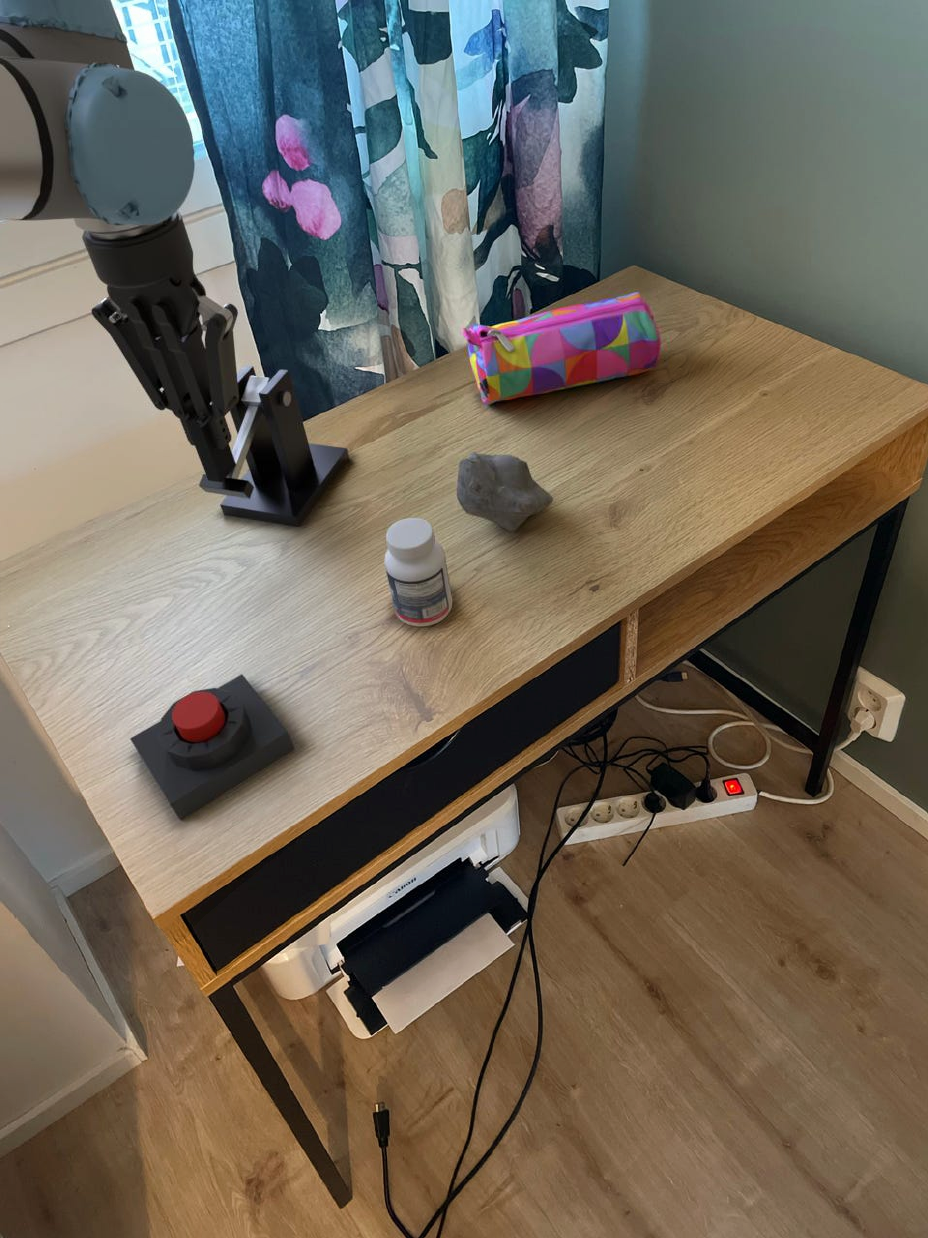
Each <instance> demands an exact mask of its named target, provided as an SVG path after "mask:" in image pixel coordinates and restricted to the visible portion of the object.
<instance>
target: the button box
mask: <svg viewBox="0 0 928 1238" xmlns="http://www.w3.org/2000/svg"><path fill="white" fill-rule="evenodd" d="M196 692H208V693H211V694H213V695H214V696H216V698H217V699H218V701H219V703H220V705H221V707H222V709H223V711H224V714H225V723H224V726H223V728H222V729H221V731H220V732H219V733H218V734H217V735H215V736H214V737H212V738H211V739H209V740H206V741H203V742H190V741H187V740H185V739H184V738H182V736H181V735H180V733H179V731H178V729H177V728H176V726H175V724H174V722H173V720H172V712H173V709H174V707H175V706H176V704H177V703H178V702H179V701H180V700H181V699H183V698H184V697H186V696H187V695H190V694H192V693H196ZM129 739H130V741H131V742H132V745H133V746H134V748H135V749H136V751H137V753H138V754H139V756H140V758H141V759H142V761H143V763H144V764H145V766H146V768H147V769H148V771H149V772H150V774H151V776H152V778H153V779H154V781H155V782H156V784H157V786H158V787H159V789H160V790H161V792H162V794H163V796H164V797H165V798H166V800H167V801H168V803H169V805H170V807H171V808H172V810H173V812H174V813H175V815H176V817H177V818H178V820H180V821H182V820H183V819H185V818H186V817H188V816H189V815H191V814H193V813H194V812H196V811H198V810H200V809H201V808H203V807H204V806H205V805H207V804H208V803H210V802H212V801H214V800H216V799H217V798H218V797H220V796H222V795H223V794H225V793H226V792H228V791H229V790H231V789H233V788H235V787H237V786H238V785H239V784H241V783H243V782H244V781H245V780H247V779H248V778H250V777H252V776H253V775H256V774H257V773H258V772H260V771H262V770H264V769H265V768H267V767H268V766H270V765H271V764H273V763H274V762H276V761H278V760H279V759H281V758H283V757H284V756H286V755H287V754H289V753H291V752H292V751H293V750H295V749H296V748H295V745H294V743H293V741H292V738H291V735H290V733H289V732H288V730H287V729H286V727H285V726H284V724H282V723H281V721H280V720H279V718H278V717H277V716H276V715H275V713H273V711H272V710H271V709H270V707H269V706H268V705H267V704H266V702H265V701H264V699H263V698H262V697H261V695H259V693H258V692H257V691H256V689H255V688H254V687H253V685H252V684H251V683H250V682H249V680H248V679H247V678H246V676H244V674H242V673H241V674H239V675H238V676H236V677H235V678H233V679H231V680H229V681H227V682H226V683H224V684H222V685H221V686H218V687H211V688H205V689H198V690H194V691H191V692H190V693H188V694H186V695H185V696H183V697H181V698H179V699H177V700H176V701H174V702H173V703H172V704H171V705H170V707H169V708H168V709H167V711H166V712H165V713H164V714H163V716H161V718H160V721H158V722H156V723H154V724H152V725H151V726H150V727H148V728H145V729H144V730H143V731H141V732H139V733H137V734H135V735H134V736H131V737H130V738H129Z"/></svg>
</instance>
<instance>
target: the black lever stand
mask: <svg viewBox="0 0 928 1238" xmlns="http://www.w3.org/2000/svg"><path fill="white" fill-rule="evenodd" d="M250 376H257V374H256V371H255V367H254V365H253V366H252V365H244V366H243V367H242V368H241V369H240V370H239V371H238V372H237V381H238V392H239V401H238V402H237V403H236V404H235V406H234V407H233V408H232V409H231V410H230V411H229V413H230V416H231V419H232V422H233V426H234V428H235V431H236V433H237V435H238V433H239V430H240V428H241V425H242V422H243V420H244V417H245V414H246V412H247V409H248V408H247V407H246V405H245V404H244V403H243V402H242V401H241V399H242V396H243V394H244V391H245V388H246V386H247V383H248V381H249V378H250ZM291 377H292V376H291V373H290V370H289V369H281V368H280V369H279V370H278V371H277V372H276V374H274V376H273V377H272V378H270V379H271V380H270V381H269V382H268V383H267V385H266V386H265V387H264V388H263V389H262V390H261V391H260V392H259V397H260V400H261V403H262V407H263V410H264V413H265V415H261V418H260V421H259V423H258V426H257V429H256V431H255V434H254V437H253V439H252V442H251V445H250V447H249V450H248V453H247V455H246V458H245V460H246V464H247V466H248V471H247V472H246V473H245V474H244V475H243V476H242V478H241V480H248V481H249V482H250V483H251V484H252V485H253V486H254V489H253V492H252V495H251V497H250V499H247V498H241V497H235V496H228V495H226V496H225V498H224V499H223V501H222V502H221V503H220V504H219V506H220V510H221V512H222V514H223V515H226V516H232V517H238V518H244V519H250V520H255V521H261V522H268V523H272V524H273V523H274V524H279V525H285V526H291V527H297V528H299V527H301V525H302V524H303V522H304V521H305V519H306V518H307V517H308V515H309V514H310V513H311V512H312V510H313V509H314V507H315V506H316V504H317V503H318V502H319V500H320V499H321V498H322V496H323V495H324V494H325V492H326V491H327V489H328V488H329V487H330V485H331V484H332V482H334V480H335V478H336V477H337V476H338V474H339V473H340V472H341V470H342V469H343V468H344V467H345V464H346V463H347V462H348V460H349V459H350V455H349V452H348V451H349V450H348V448H346V447H341V446H334V445H326V444H317V443H310V442H309V439H308V436H307V432H306V429H305V425H304V422H303V418H302V414H301V410H300V406H299V402H298V400H297V396H296V392H295V388H294V385H293V380H292V378H291Z"/></svg>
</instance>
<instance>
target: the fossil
mask: <svg viewBox="0 0 928 1238" xmlns="http://www.w3.org/2000/svg"><path fill="white" fill-rule="evenodd" d="M458 463H459V464H458V473H457V482H456V498H457V500H458V503H459V505H460V506H461V508H462V510H463V511H464V512H465V514H468V515H470V516H473V517H478V518H482V519H485V520H488V521H489V522H492V523H494V524H496V525H497V526H499V527H501V528H503V529H505V530H506V531H507V532H515V531H517V530H518V529H519V528H520V526H521V525H522V524H523V523H524V522H525V521H526V519H528V517H529V516H532V515H535V514H537V513H539V512H541V511H543V510H545V509H546V508H547V507H549V506H550V505H552V503H553V501H554V497H553V496H552V495H551V494H550V493H549V492H548V491H547V490H546V489H545V488H543V487H542V486H541V485H539V484H538V483H537V481H535V480H534V479H533V477H532V474H531V471H530V468H529V466H528V462H527V461H524V460H522V459H521V458H519V457H517V456H514V455H512V454H485V453H477V452H475V451H473V452H471V453H470V454H469V455H468V457H465V458H463V459H461V461H460V462H458Z"/></svg>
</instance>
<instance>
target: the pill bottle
mask: <svg viewBox="0 0 928 1238" xmlns="http://www.w3.org/2000/svg"><path fill="white" fill-rule="evenodd" d="M385 539H386V540H385V541H386V545H387V550H386V552H385V555H384V569H385V573H386V577H387V581H388V587H389V590H390V594H391V600H392V603H393V604H392V605H393V608H394V612H395V614H396V616H397V617H398V619H399V620H400V621H401V622H402V623H405V624H406V625H409V626H413V627H429V626H433V625H435V624H438V623H440V622H441V621H443V620H444V619H445V618H446V617H447V616H448V615H449V614H450V612H451V610H452V608H453V594H452V593H453V592H452V587H451V583H450V578H449V571H448V565H447V559H446V554H445V549H444V547H443V546H442V544H441V543H440V542H439V541H438V540H437V539H436V536H435V531H434V528H433V526H432V524H431V523H430V521H427V520H425V519H424V518H420V517H406V518H403V519H399V520H397V521H395V522H394V523H393V524H392V525H390V526H389V528H388V529H387V531H386V534H385Z"/></svg>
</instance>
